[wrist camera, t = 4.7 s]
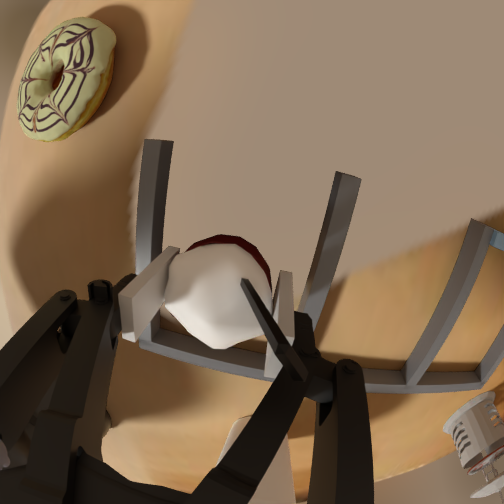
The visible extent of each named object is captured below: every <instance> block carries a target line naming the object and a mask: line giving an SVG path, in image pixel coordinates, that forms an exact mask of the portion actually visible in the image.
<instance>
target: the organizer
mask: <svg viewBox="0 0 504 504" xmlns="http://www.w3.org/2000/svg"><path fill="white" fill-rule="evenodd" d="M173 143H174V141H167V140H154V139H145V140H144V147H143V155H142V163H141V172H140V182H139V194H138V207H137V225H136V275H138V274H139V273H140V272H142V271H143V270H144V269H145V268H146V267H147V266H148V265H149V264H150V263H151V262H152V261H153V260H154V259H155V258H157V257H158V256H159V255H160V254H161V253H162V242H163V227H164V216H165V205H166V196H167V187H168V179H169V170H170V163H171V156H172V149H173ZM360 183H361V179H360V178H358V177H355V176H352V175H348V174H345V173H341V172H338V171H336V173H335V177H334V181H333V185H332V190H331V194H330V198H329V202H328V206H327V210H326V214H325V218H324V222H323V226H322V229H321V233H320V236H319V240H318V244H317V247H316V251H315V254H314V258H313V262H312V265H311V269H310V272H309V275H308V278H307V282H306V285H305V288H304V292H303V295H302V298H301V301H300V304H299V308H298V311H297V312H302V313H308V315H309V316H310V317H311V319H312V323H313V331H314V330H315V327H316V324H317V322H318V319H319V317H320V314H321V311H322V308H323V306H324V303H325V300H326V297H327V294H328V291H329V289H330V286H331V283H332V280H333V277H334V274H335V271H336V267H337V264H338V261H339V258H340V255H341V252H342V249H343V245H344V242H345V238H346V235H347V232H348V228H349V225H350V221H351V217H352V214H353V210H354V207H355V203H356V199H357V195H358V191H359V187H360ZM489 244H490V245H491V246H493V247H495V248H498V249H500V250H502V251H504V233H502V232H500V231H498V230H495V229H493V228H491V227H489V226H487V225H485V224H483V223H481V222H479V221H476V220H474V219H472V218H471V221H470V224H469V227H468V230H467V233H466V237H465V240H464V242H463V245H462V248H461V251H460V254H459V256H458V259H457V262H456V264H455V267H454V269H453V272H452V274H451V277H450V279H449V281H448V284H447V286H446V288H445V290H444V293H443V295H442V297H441V299H440V301H439V303H438V305H437V307H436V310H435V312H434V314H433V316H432V317H431V319H430V321H429V323H428V325H427V327H426V329H425V331H424V333H423V334H422V336H421V338H420V340H419V341H418V343H417V345H416V347H415V348H414V350H413V352H412V353H411V355H410V357H409V358H408V360H407V361H406V363H405V365H404V366H403V368H402V369H401V371H394V370H379V369H367V368H362V370H363V375H364V381H365V389H366V393H395V394H414V393H442V392H457V391H468V390H477V389H481V388H482V387H483V386H484V384H485V383H486V382H487V380H488V379H489V378H490V376H491V375H492V374H493V372H494V371H495V369H496V368H497V367H498V365H499V364H500V362H501V361H502V359H503V358H504V325H503V327H502V329H501V331H500V332H499V334H498V336H497V337H496V339H495V341H494V343H493V344H492V346H491V347H490V349H489V351H488V352H487V354H486V355H485V357H484V358H483V360H482V361H481V363H480V364H479V366H478V367H477V369H476V370H475V371H471V372H425V371H426V370H427V369H428V367H429V366H430V364H431V362H432V361H433V359H434V358H435V356H436V355H437V353H438V352H439V350H440V348H441V347H442V345H443V343H444V342H445V340H446V338H447V337H448V335H449V333H450V331H451V329H452V328H453V326H454V324H455V322H456V320H457V318H458V317H459V315H460V313H461V311H462V309H463V307H464V305H465V303H466V301H467V298H468V296H469V294H470V292H471V290H472V288H473V285H474V283H475V281H476V278H477V276H478V274H479V271H480V269H481V266H482V264H483V261H484V258H485V256H486V253H487V250H488V247H489ZM139 348H142V349H145V350H148V351H151V352H154V353H157V354H160V355H163V356H166V357H170V358H173V359H176V360H180V361H183V362H187V363H190V364H194V365H198V366H201V367H205V368H209V369H213V370H217V371H221V372H226V373H230V374H235V375H239V376H244V377H249V378H254V379H259V380H265V381H270V382H274V380H275V378H269V377H264V371H265V362H266V354H263V353H258V352H253V351H248V350H243V349H239V348H234V347H229V348H227V349H213V348H211V347H210V346H208V345H207V344H205V343H203V342H202V341H200V340H199V339H197V338H193V337H190V336H186V335H182V334H179V333H175V332H172V331H168V330H165V329H162V328H160V308H159V310H158V311H157V313H156V314H155V315H154V317H153V318H152V320H151V321H150V322H149V324H148V325H147V327H146V328H145V329H144V331H143V332H142V334H141V335H140V336H139Z"/></svg>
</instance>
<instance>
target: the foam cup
mask: <svg viewBox="0 0 504 504" xmlns="http://www.w3.org/2000/svg"><path fill="white" fill-rule="evenodd" d="M251 417H252V416H248V417H244V418H240V419H238V420H237V421H235V422H234V423H233V425H232V427H231V429H230V432H229V434H228V437H227V439H226V442H225V444H224V447H223V449H222V452H221V454H220V457H219V459H218V462H217V464H216V466H217V465H218V464H219V462H220V461H221V460H222V458H223V457H224V455H225V454H226V453H227V451H228V450H229V449H230V447H231V446H232V444H233V443H234V441H235V440H236V439H237V437H238V436H239V434H240V433H241V431H242V430H243V428H244V427H245V426H246V424H247V423H248V421H249V420H250V418H251ZM248 504H296V501H295V492H294V484H293V475H292V467H291V459H290V451H289V443H288V435H287V434H286V436H285V438H284V440H283V442H282V444H281V446H280V448H279V449H278V451H277V453H276V455H275V457H274V459H273V461H272V462H271V464H270V466H269V468H268V470H267V471H266V473H265V475H264V477H263V478H262V480H261V482H260V483H259V485H258V487H257V489H256V491H255V493H254V495H253V496H252V498H251V500H250V501H249V503H248Z"/></svg>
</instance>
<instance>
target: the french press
mask: <svg viewBox="0 0 504 504" xmlns="http://www.w3.org/2000/svg"><path fill="white" fill-rule="evenodd" d="M494 399H495V393H494V391H488V392H485V393H482V394H480V395H478V396H476V397H475V398H473V399H472V400H470V401H468V402H467V403H466V404H464V405H463V406H462V407H461V408H459V409H458V410H457V411H456V412H455V413H454V414H453V415H452V416H451V417H450V418H449V419H448V420H447V422H446V423H445V425H444V427H443V431H444V432H445V433H448V434H451V436H452V438H453V440H454V444H455V442H456V441H457V443H456V444H455V446H456V449H457V452H458V453H459V454H458V455H459V458H460V459H461V464H462V467H463V468H464V469H465V468H469V467H471V469H470V470H469V471H468V473H467V474H468V475H472V474H475V473H476V472H479V470H482V472H483V474H484V476H485V479H486V481H487V483H486V484H484V485H483V486H481V487H480V488H478V489H477V490H476V491H474V492H473V493H472V494H471V496H470V498H480V497H485V496H488V495H490V494H492V493H495V492H500V495H501V499H502V503H503V504H504V500H503V497H502V493H501V489H502V488H503V486H504V472H502V473H500V474H499V475H498V472H497V470H496V469H494V467H493V465H492V463H493V462H494V461H495V460H496V459H499V458H500V456H501V455H503V454H504V445H503V444H504V425H502V423H503V421H502V419H500V418H501V417H500V415H499V413H497V412H498V411H497V409H496V407H495V405H494V404H493V402H494ZM496 411H497V412H496ZM494 415H497V417H496V418H495V419H494V420H493V421H491V418H492V417H493V416H494ZM499 417H500V418H499ZM497 421H500V423H499V424H498V425H497V426H495V427H494V424H495V423H496V422H497ZM503 424H504V423H503ZM460 440H461V442H460V443H459V441H460ZM458 443H459V444H458ZM502 445H503V446H502ZM463 446H464V447H463ZM458 447H459V451H458ZM462 447H463V448H462ZM484 449H485V450H486V453H487V456H485V457H484V458H483V456H482V453H481V451H482V450H484ZM461 453H462V454H461ZM460 454H461V457H460ZM489 464H491V467H492V471H493V473H494V476H495V477H494V478H493V479H492V480H490V481H489V482H488V477H487V476H488V474H489V473H491V472H492V471H490V472H489V473H488V474H487V475H485V473H484V470H483V469H484V468H485V467H486V466H488V465H489ZM496 475H497V476H496Z"/></svg>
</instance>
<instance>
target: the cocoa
mask: <svg viewBox="0 0 504 504" xmlns="http://www.w3.org/2000/svg"><path fill="white" fill-rule="evenodd" d="M164 297H165V308H166V309H167V310H168V311H169V312H170V313H171V315H172V316H173V317H175V318H176V319H177V320H178V321H179V322H180V323H181V324H182V325H183V326H184V327H185V328H186V330H187V331H188V332H189V333H191V334H192V335H193V336H195V337H196V338H197V339H199V340H200V341H202V342H203V343H205V344H207V345H208V346H210V347H211V348H213V349H227V348H229V347H231V346H233V345H235V344H237V343H239V342H243V341H246V340H249V339H252V338H255V337H258V336H261V335H264V334H265V336H266V338H267V340H268V342H269V344H270V346H271V348H272V350H273V352H274V354H275V356H276V357H277V358H278V360H279V361H280V362H281V364H282V365H283V367H284V368H285V369H286V371H287V372H288V373H289V375H290V376H291V377H292V379H293V380H294V381H302V382H305V380H306V378H307V375H308V373H309V372H308V371H307V369H306V367H305V366H304V364H303V363H302V361H301V360H300V358H299V357H298V355H297V354H296V352H295V351H294V349H293V348H292V346H291V345H290V343H289V341H288V340H287V338H286V337H285V335H284V334H283V332H282V331H281V329H280V328H279V326H278V324H277V323H276V321H275V320H274V318H273V317H272V315H273V302H272V284H271V275H270V269H269V266H268V265H267V263H266V261H265V260H264V258H263V257H262V255H261V254H260V252H259V251H258V249H257V247H256V246H254V245H252V244H251V243H249V242H247V241H246V240H244V239H243V238H241V237H238V236H231V235H222V234H220V235H216V236H213V237H210V238H207V239H204V240H201V241H198V242H196V243H194V244H193V245H191V246H190V247H189V248H188V249H187V250H186V251H185V252H184V253H181V254H178V255H176V256H175V258H174V259H173V261H172V262H171V264H170V265H169V279H168V283H167V286H166V289H165V293H164Z"/></svg>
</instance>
